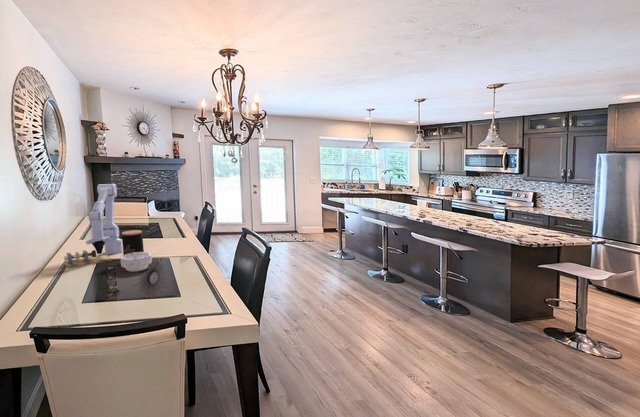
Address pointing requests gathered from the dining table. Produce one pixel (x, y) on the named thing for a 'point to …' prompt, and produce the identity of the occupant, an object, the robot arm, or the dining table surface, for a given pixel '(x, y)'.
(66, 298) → the dining table surface
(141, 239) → the coffee jar
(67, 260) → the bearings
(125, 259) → the paper bowls
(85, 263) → the base board
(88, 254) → the shaft
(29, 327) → the dining table surface
